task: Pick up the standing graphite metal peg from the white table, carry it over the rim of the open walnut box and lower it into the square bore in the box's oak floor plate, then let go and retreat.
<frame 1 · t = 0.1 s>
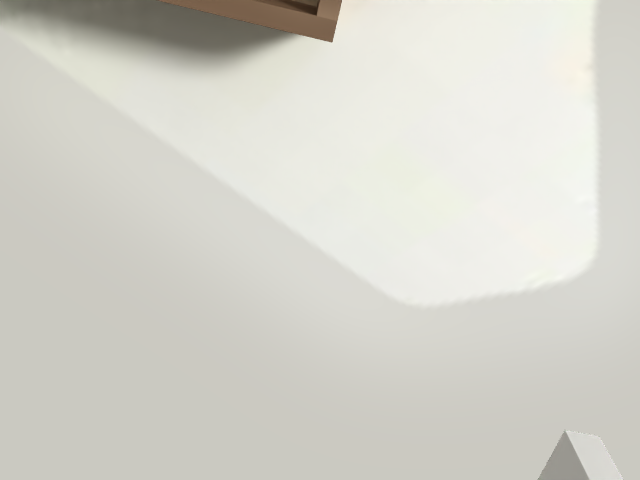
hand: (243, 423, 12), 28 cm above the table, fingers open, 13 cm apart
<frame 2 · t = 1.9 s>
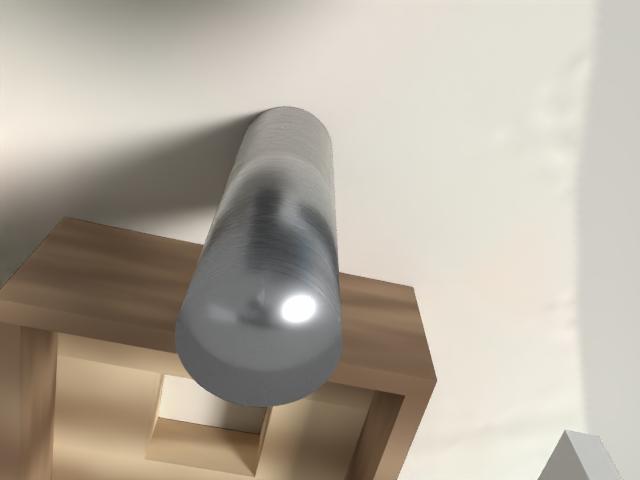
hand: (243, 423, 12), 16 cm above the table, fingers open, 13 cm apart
peg: (287, 151, 27), on the table
box: (217, 387, 33), on the table
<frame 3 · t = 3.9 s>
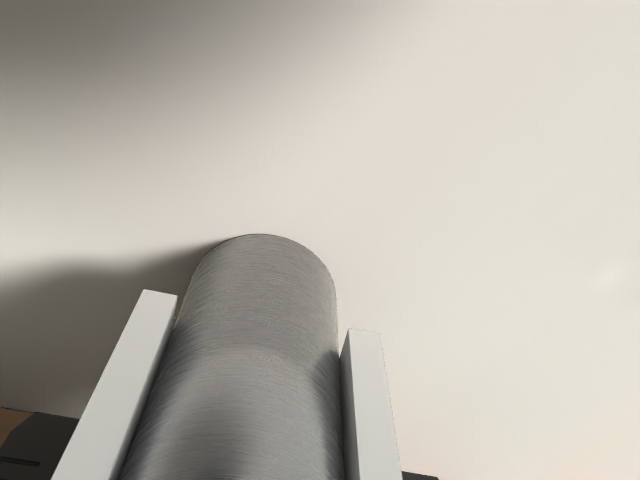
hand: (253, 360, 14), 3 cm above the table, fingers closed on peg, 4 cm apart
peg: (262, 299, 17), on the table, touching gripper
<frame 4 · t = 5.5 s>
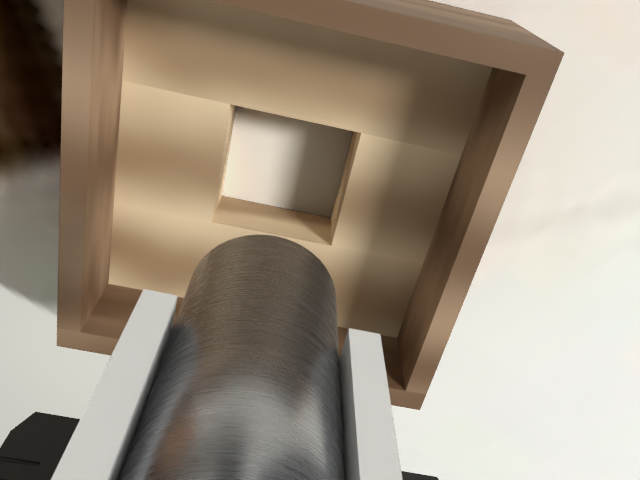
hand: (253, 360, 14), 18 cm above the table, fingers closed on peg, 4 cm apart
peg: (262, 300, 17), point 15 cm above the table, touching gripper
box: (287, 155, 30), on the table
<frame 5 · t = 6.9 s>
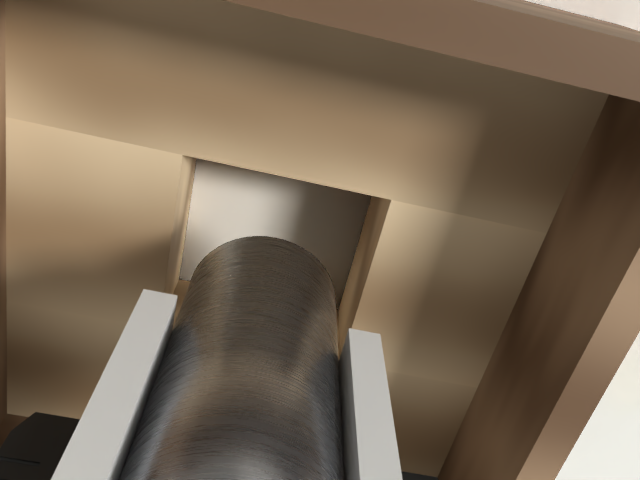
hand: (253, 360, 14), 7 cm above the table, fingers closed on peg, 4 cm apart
peg: (262, 301, 17), point 5 cm above the table, touching gripper
box: (275, 223, 21), on the table
when the fingers open (5 cm above the table, at t = 7.6 s): peg drops 2 cm, resting in box.
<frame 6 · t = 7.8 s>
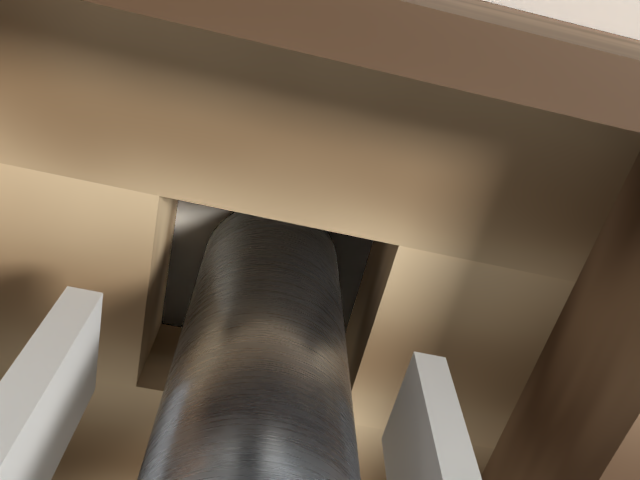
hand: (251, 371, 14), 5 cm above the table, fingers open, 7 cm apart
peg: (271, 265, 18), resting in box
box: (267, 263, 18), on the table
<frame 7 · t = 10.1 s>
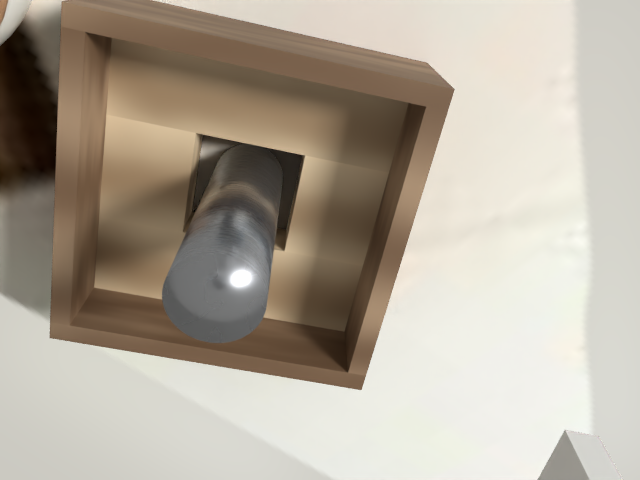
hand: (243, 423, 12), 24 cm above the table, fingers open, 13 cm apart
peg: (249, 176, 36), resting in box
box: (247, 176, 36), on the table
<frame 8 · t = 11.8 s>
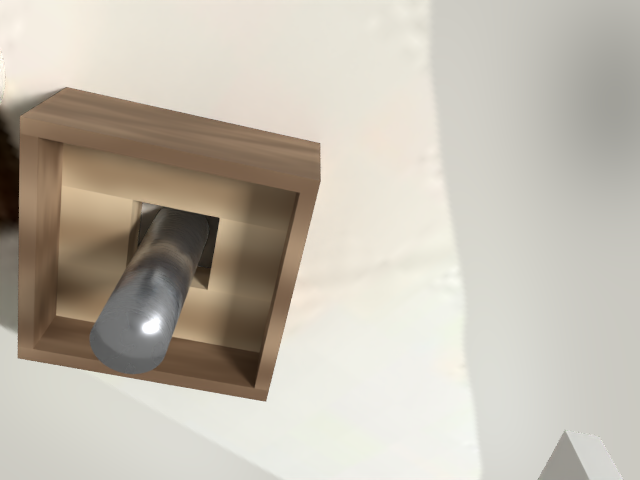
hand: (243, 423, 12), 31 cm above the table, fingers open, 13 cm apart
peg: (181, 227, 45), resting in box
box: (180, 227, 44), on the table
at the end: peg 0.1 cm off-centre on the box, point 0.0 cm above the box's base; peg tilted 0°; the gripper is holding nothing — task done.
